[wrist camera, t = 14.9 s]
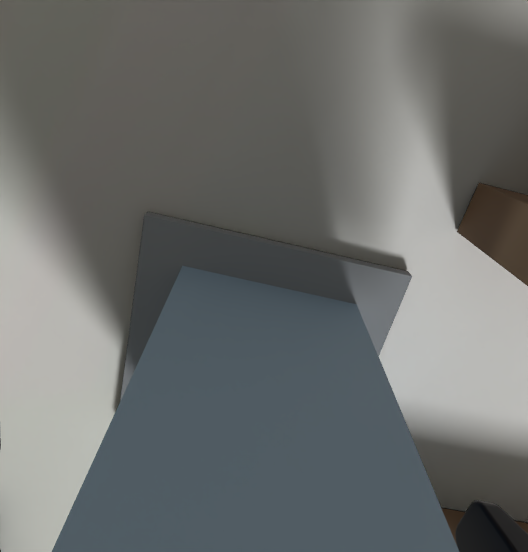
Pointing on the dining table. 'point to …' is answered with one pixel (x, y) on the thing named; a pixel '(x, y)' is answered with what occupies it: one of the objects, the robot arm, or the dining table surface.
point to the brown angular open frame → (496, 251)
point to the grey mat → (253, 275)
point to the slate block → (256, 435)
